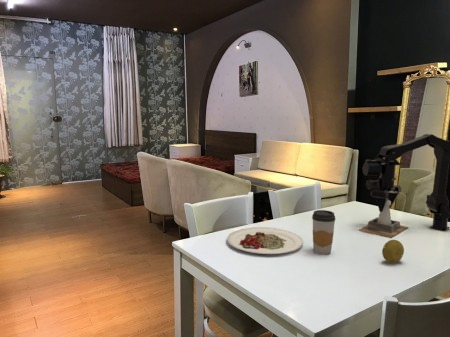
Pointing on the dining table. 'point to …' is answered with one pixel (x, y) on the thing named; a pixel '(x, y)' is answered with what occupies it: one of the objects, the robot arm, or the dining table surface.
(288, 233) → the plated food
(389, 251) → the ochre rounded piece
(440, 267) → the dining table surface
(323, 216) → the coffee cup
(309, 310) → the dining table surface
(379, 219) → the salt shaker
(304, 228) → the dining table surface
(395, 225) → the brown tray
